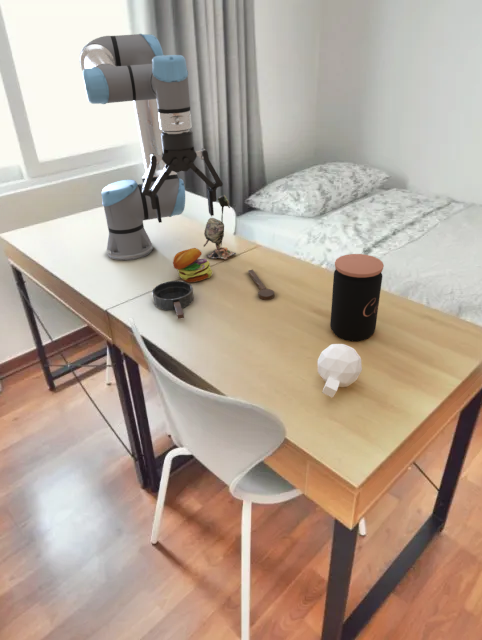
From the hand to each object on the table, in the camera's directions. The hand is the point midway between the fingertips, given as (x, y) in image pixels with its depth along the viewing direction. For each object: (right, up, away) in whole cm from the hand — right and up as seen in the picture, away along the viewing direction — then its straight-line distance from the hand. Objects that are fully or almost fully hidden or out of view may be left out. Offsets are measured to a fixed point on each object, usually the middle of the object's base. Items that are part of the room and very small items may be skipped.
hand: (185, 217), depth 120 cm
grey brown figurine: (+7, -5, +34) cm, 35 cm away
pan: (-4, -21, +8) cm, 23 cm away
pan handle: (-2, -26, 0) cm, 26 cm away
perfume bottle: (+34, -40, -25) cm, 58 cm away
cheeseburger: (0, -14, +21) cm, 25 cm away
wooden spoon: (+20, -17, +14) cm, 29 cm away
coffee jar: (+41, -30, -8) cm, 52 cm away
